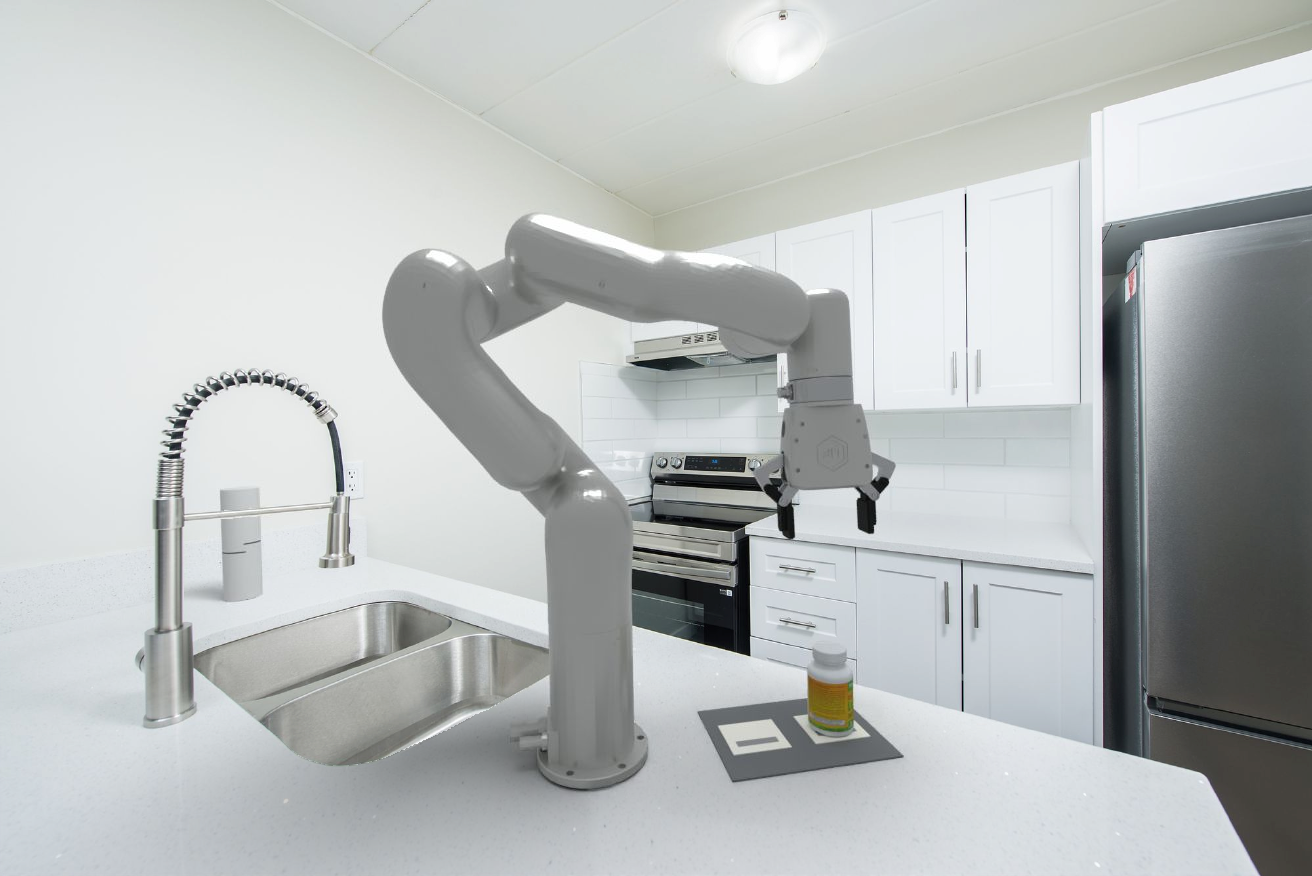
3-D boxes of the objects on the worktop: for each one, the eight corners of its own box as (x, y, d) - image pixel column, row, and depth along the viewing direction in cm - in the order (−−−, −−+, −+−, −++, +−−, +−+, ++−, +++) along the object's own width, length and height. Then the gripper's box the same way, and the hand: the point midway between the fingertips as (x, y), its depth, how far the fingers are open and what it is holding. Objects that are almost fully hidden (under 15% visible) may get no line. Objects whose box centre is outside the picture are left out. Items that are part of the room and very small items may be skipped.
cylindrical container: (268, 594, 124) (264, 487, 123) (231, 603, 118) (227, 490, 117) (254, 590, 128) (251, 486, 127) (218, 598, 122) (214, 489, 121)
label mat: (732, 782, 56) (732, 779, 56) (697, 712, 70) (697, 710, 70) (903, 757, 60) (903, 754, 60) (838, 695, 73) (838, 693, 73)
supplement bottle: (857, 740, 62) (856, 657, 62) (809, 735, 63) (808, 654, 63) (850, 716, 68) (849, 639, 67) (806, 712, 69) (805, 637, 69)
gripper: (757, 396, 61) (765, 546, 61) (905, 388, 61) (912, 536, 62) (743, 400, 68) (750, 533, 69) (876, 392, 69) (881, 524, 69)
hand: (827, 534), depth 65 cm, fingers open, 9 cm apart
